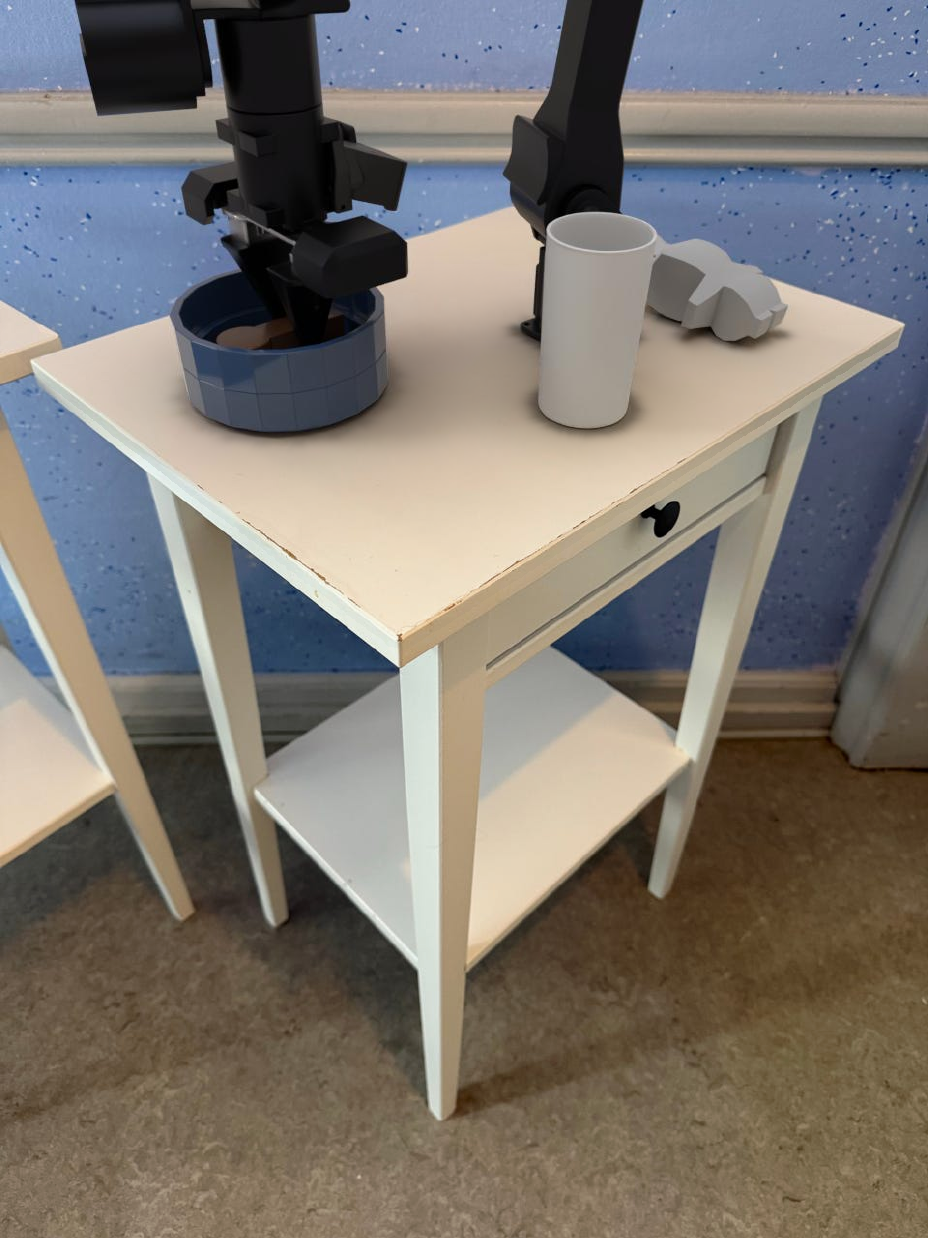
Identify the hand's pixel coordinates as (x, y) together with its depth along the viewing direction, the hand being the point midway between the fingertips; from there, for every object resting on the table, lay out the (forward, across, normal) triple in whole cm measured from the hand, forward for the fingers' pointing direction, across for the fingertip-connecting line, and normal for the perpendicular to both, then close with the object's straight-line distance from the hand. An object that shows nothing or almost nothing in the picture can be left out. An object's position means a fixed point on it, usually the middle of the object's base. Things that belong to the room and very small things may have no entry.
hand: (303, 345), depth 65 cm
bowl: (+2, -1, +2) cm, 3 cm away
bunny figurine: (+2, -11, -30) cm, 32 cm away
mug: (+2, -16, -14) cm, 21 cm away
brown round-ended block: (+1, 0, +2) cm, 2 cm away
